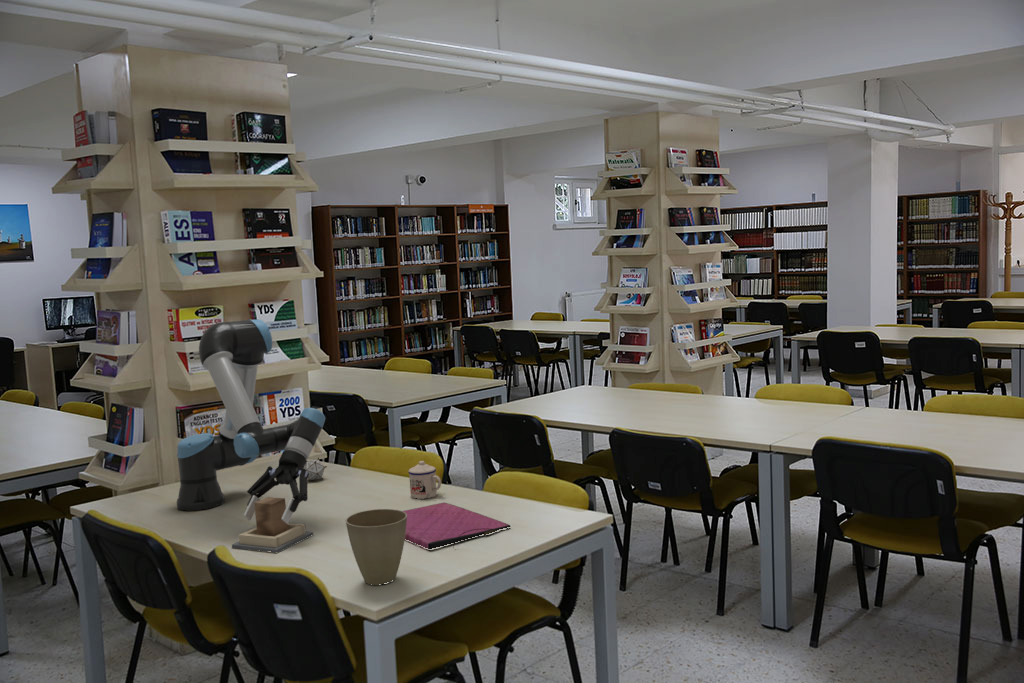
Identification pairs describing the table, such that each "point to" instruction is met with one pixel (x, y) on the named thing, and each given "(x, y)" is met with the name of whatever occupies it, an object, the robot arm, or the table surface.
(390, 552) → the plant pot
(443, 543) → the laptop bag
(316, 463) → the game die
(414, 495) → the teacup with lid
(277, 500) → the walnut block
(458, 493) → the table surface
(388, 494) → the table surface
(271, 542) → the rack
